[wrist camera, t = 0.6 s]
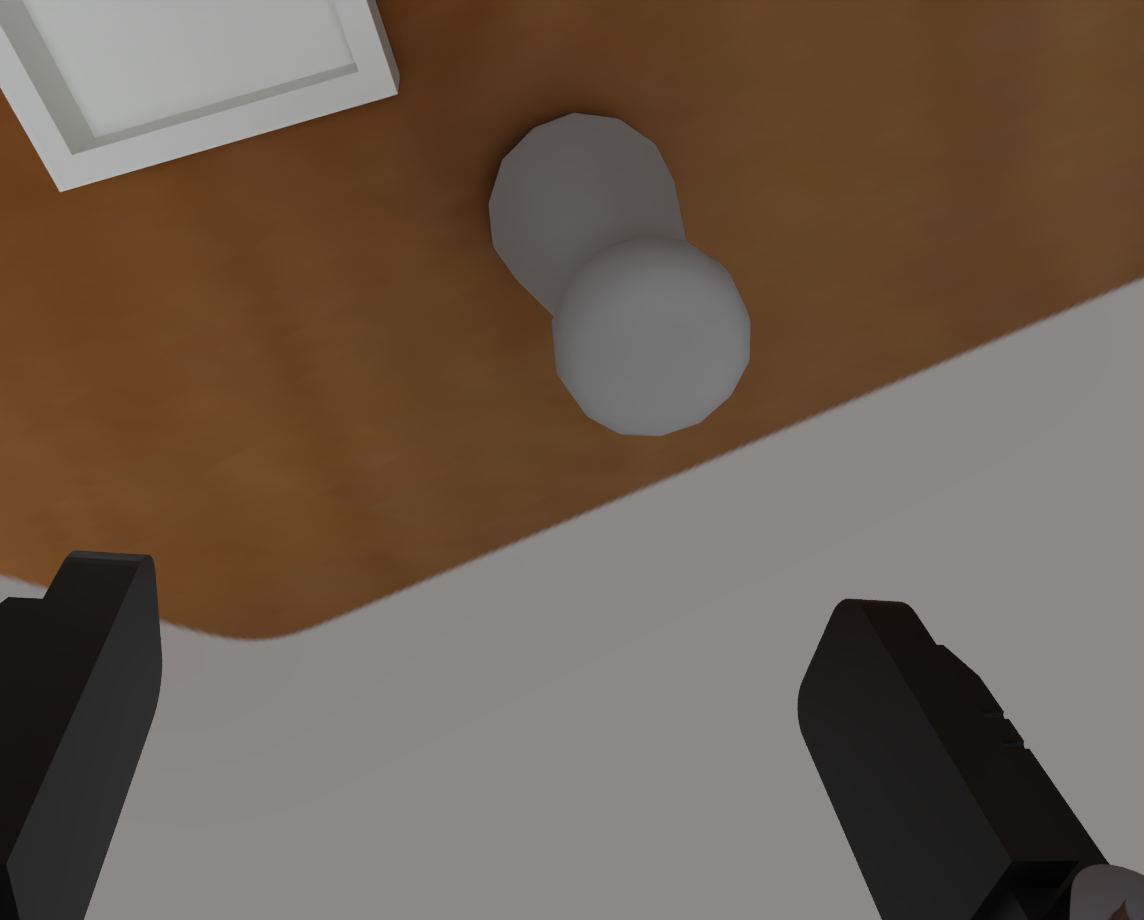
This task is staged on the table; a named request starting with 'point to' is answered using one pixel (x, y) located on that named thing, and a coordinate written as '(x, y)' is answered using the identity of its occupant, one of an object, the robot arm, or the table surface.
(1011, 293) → the table surface
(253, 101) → the caddy
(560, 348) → the salt shaker
